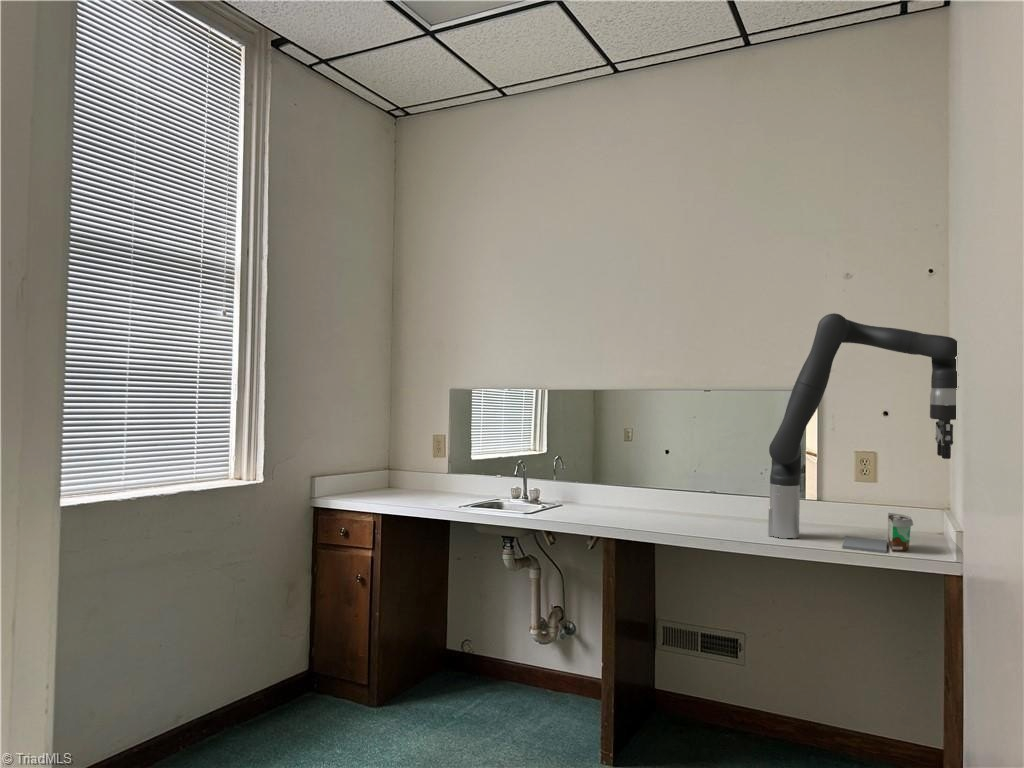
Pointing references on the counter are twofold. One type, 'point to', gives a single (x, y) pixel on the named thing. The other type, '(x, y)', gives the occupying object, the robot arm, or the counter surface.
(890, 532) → the food container
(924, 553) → the counter surface
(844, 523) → the counter surface
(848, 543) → the mat
